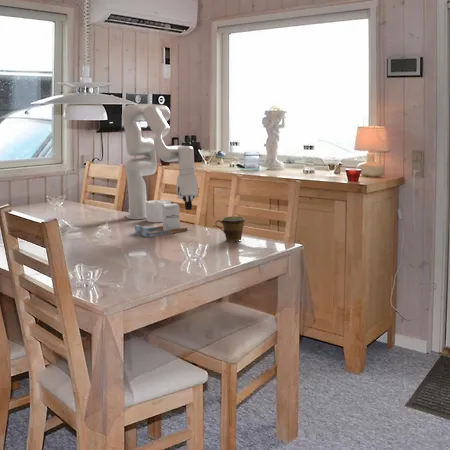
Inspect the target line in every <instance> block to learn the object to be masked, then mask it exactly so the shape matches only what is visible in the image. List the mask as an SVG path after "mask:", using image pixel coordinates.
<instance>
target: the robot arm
mask: <svg viewBox="0 0 450 450" xmlns="http://www.w3.org/2000/svg"><path fill="white" fill-rule="evenodd" d="M136 104H137V105H132V104H128V105H126V106H124V108H123V110H122V114H121V119H122V124H123V128H124V135H125V136H124V137H125V146H126V152H127V154H128V155H129V156H132V157H136V158H131V159H129V160H127V161H126V162H125V165H124V170H125V174H126V180H127V190H128V191H127V192H128V193H127V194H128V209H127V212H128V214H127V215H126V218H127V219H129V220H145V219H146V202H147V201H148V200H147V184H146V181H145V179H144V178H143V177H145V176H146V177H147V176H151V175H154V174H155V173H156V172H157V169H158V167H157V166H158V162H157V156H158V157H159V159H160V160H161V161H163V162H164V163H170V162H178V174H177V177H176V187H175V188H176V195H177V198H178V199H180V200H182V201H183V202H184V208H185V210H186V211H191V210H192V207H193V204H192V202H193V200H194V199H195V198H196V197H198V196H199V195H198V192H199V185H198V178H197V175H196V173H195V172H197V168H195V155H194V154H195V152H194V147H193V146H189V145H181V144H180V145H178V144H177V145H166V144H165V142H164V140H163V138H164V137H166V136H167V135H168V134H169V133H170V130H171V127H170V125H169V124H168V121H169V120H170V118H171V111H170V109H169V107H168V106H167V105H164V104H155V103H136ZM138 121H143V122H144V121H145V122H146V123H147V125H148V127H149V128H150V130H151V132H152V133H153V135H154V137H153V139H152V137H150V136H149V137H148V136H143V135H142V134H143V133H142V128H141V126H140V124H139V123H138ZM138 156H143V157H138Z"/></svg>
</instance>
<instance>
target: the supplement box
mask: <svg viewBox="0 0 450 450" xmlns="http://www.w3.org/2000/svg"><path fill="white" fill-rule="evenodd" d="M180 211H181V210H180V205H179V204H178V203H171V204H162V217H163V222H162V226H163V229H162V231H167V230H173V229H180V228H181V218H180V217H181V212H180Z"/></svg>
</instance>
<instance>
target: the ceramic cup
mask: <svg viewBox="0 0 450 450" xmlns="http://www.w3.org/2000/svg"><path fill="white" fill-rule="evenodd" d="M218 222H219V223H221V224H222V226H223V229H222V227H220V226H219V225H217V223H218ZM215 226H216V227H217V228H219V229H220V231H222V232H223V233H224V236H225V238H226V239H225V240H226V242H228V241H239V240H241V241H242V237H243V230H244V227H245V217H242V216H225V217H223V218H221V219H218V220H216V221H215ZM239 242H240V241H239Z"/></svg>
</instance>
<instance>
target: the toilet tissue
mask: <svg viewBox="0 0 450 450" xmlns="http://www.w3.org/2000/svg"><path fill="white" fill-rule="evenodd" d="M171 202H172V201H171V200H167V199H166V200H165V199H153V200H147V202H146V221H147V222H148V223H163V217H162V204H172V203H171Z"/></svg>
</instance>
